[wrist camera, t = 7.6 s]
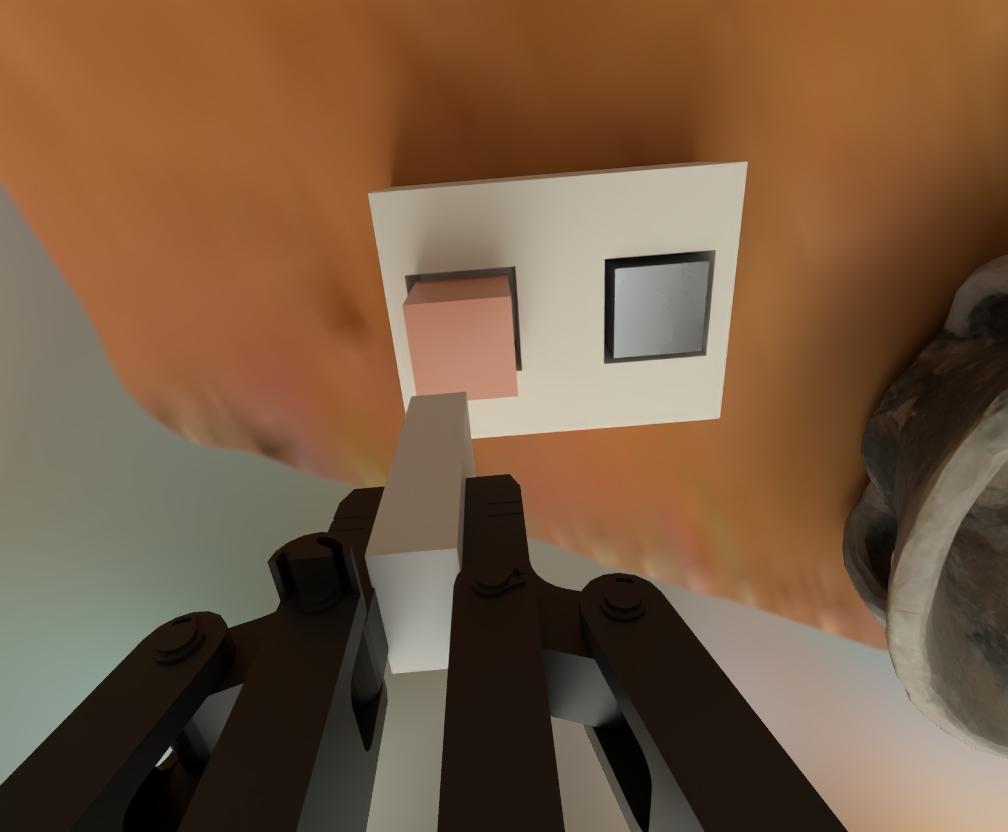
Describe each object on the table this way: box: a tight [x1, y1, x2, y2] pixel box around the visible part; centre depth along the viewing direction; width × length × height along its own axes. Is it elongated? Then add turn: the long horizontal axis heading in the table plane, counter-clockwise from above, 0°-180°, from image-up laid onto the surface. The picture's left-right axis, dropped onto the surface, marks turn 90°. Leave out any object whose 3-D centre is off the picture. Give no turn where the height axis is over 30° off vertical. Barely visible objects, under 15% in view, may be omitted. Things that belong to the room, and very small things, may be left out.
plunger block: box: [368, 162, 748, 439], centre depth 28 cm, size 12×16×6 cm
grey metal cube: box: [604, 252, 709, 358], centre depth 27 cm, size 4×4×4 cm
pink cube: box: [402, 274, 518, 401], centre depth 24 cm, size 4×4×4 cm
